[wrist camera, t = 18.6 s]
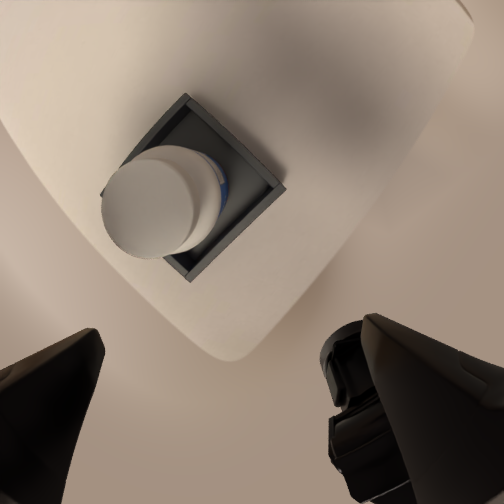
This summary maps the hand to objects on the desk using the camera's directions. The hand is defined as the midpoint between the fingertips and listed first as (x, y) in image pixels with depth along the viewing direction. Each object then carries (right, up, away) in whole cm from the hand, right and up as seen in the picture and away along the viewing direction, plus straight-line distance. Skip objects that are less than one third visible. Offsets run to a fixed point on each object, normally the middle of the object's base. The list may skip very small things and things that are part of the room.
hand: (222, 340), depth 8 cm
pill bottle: (-3, +7, +11) cm, 14 cm away
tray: (-3, +8, +11) cm, 14 cm away
